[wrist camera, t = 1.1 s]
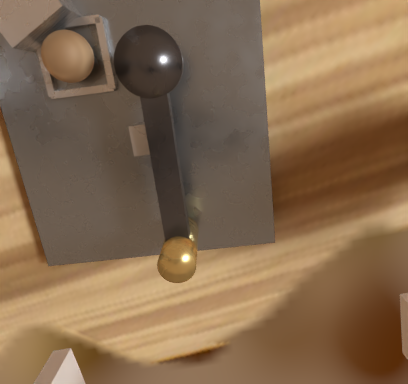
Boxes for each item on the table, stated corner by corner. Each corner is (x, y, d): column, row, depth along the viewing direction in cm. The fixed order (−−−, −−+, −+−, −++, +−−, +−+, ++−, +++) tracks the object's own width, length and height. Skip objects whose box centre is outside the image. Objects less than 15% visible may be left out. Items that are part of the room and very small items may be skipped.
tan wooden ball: (61, 86, 29) (39, 85, 25) (49, 37, 28) (24, 29, 24) (105, 80, 29) (89, 78, 25) (95, 30, 28) (76, 21, 24)
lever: (159, 246, 32) (147, 286, 26) (122, 40, 27) (94, 24, 20) (209, 240, 32) (209, 279, 26) (182, 32, 27) (173, 13, 20)
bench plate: (56, 256, 37) (28, 288, 31) (-19, -5, 29) (-76, -28, 23) (271, 234, 35) (283, 262, 30) (252, -46, 28) (264, -81, 22)
